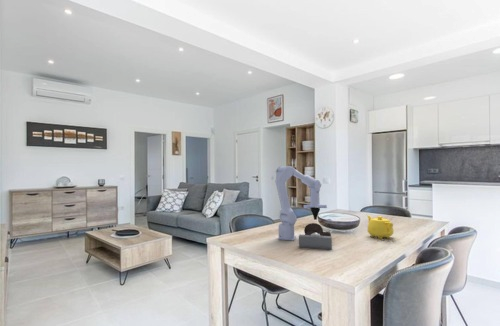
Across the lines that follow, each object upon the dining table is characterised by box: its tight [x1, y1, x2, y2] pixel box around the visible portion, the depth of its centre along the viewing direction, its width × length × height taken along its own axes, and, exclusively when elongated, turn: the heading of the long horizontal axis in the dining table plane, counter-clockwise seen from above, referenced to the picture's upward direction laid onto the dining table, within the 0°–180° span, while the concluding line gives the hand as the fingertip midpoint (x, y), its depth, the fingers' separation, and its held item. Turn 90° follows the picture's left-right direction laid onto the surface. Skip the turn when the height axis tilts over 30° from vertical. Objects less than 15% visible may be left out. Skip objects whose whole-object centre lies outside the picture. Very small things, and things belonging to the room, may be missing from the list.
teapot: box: [366, 214, 394, 240], centre depth 168 cm, size 13×20×12 cm
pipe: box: [303, 222, 332, 236], centre depth 159 cm, size 10×15×15 cm
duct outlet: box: [298, 233, 333, 250], centre depth 148 cm, size 17×5×7 cm, turn 73°
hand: (315, 219), depth 178 cm, fingers closed
